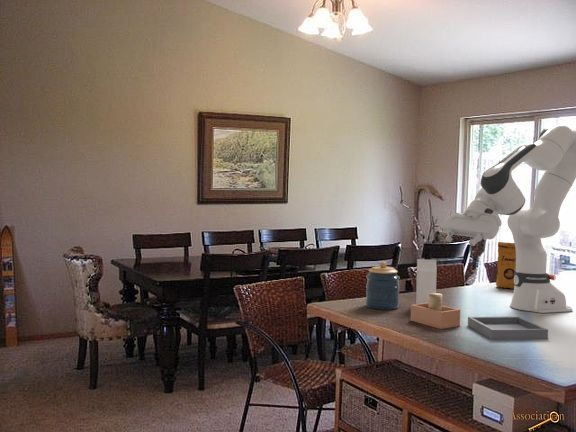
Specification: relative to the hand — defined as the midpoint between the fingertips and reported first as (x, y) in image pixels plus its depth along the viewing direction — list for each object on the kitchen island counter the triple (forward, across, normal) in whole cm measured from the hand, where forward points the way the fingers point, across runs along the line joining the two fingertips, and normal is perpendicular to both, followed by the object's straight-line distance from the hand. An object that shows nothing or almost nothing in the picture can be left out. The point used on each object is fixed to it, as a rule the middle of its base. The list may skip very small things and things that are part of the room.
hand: (459, 242), depth 197 cm
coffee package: (-39, -23, +76) cm, 88 cm away
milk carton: (+14, -17, +26) cm, 34 cm away
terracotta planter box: (+26, 0, +13) cm, 29 cm away
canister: (+23, -30, +19) cm, 42 cm away
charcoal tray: (+19, +21, +18) cm, 34 cm away
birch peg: (+26, 0, +13) cm, 29 cm away
